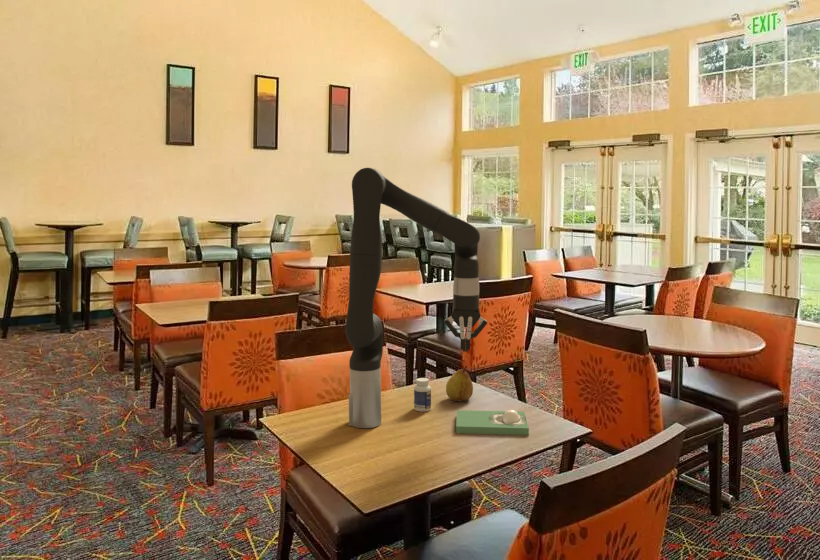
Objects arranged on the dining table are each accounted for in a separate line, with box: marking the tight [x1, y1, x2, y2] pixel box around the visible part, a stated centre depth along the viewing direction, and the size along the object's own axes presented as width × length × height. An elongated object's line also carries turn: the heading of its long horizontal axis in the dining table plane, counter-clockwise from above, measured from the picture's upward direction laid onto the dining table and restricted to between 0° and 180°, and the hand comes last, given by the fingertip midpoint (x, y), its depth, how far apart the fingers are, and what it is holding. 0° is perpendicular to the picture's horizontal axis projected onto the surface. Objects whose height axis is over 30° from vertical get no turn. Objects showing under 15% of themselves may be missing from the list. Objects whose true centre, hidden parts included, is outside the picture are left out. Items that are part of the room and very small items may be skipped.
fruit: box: [445, 365, 474, 402], centre depth 210 cm, size 9×9×12 cm
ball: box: [503, 409, 519, 424], centre depth 185 cm, size 5×5×5 cm
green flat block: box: [455, 409, 530, 436], centre depth 186 cm, size 21×14×2 cm
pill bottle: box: [413, 377, 432, 413], centre depth 200 cm, size 5×5×10 cm
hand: (465, 351), depth 185 cm, fingers closed
